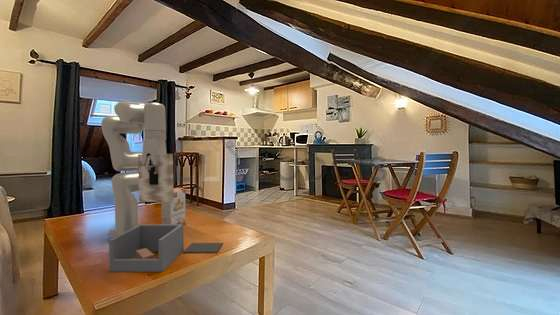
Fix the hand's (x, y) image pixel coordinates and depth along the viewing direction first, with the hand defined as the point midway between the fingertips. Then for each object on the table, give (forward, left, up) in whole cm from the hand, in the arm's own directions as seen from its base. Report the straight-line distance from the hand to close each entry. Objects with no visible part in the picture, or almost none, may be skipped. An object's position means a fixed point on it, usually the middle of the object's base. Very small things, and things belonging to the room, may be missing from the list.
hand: (156, 183), depth 101 cm
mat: (+15, +10, -29) cm, 34 cm away
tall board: (0, 0, -7) cm, 7 cm away
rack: (-2, -1, -29) cm, 29 cm away
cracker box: (-11, +41, -29) cm, 52 cm away
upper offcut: (-2, -5, -27) cm, 28 cm away
